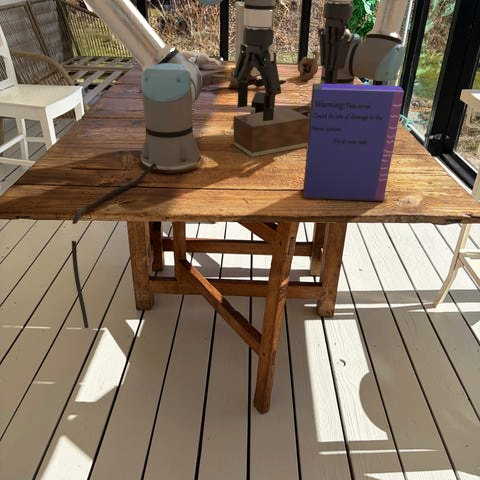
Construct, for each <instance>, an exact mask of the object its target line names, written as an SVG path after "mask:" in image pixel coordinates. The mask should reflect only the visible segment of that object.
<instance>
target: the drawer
mask: <svg viewBox="0 0 480 480" xmlns="http://www.w3.org/2000/svg"><path fill="white" fill-rule="evenodd" d="M310 109H311V108H309V111H308V110H302V111H297V112H298V113H300V114H302V115H305V116H307V117H309V118H310Z"/></svg>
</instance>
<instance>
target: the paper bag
mask: <svg viewBox="0 0 480 480" xmlns="http://www.w3.org/2000/svg"><path fill="white" fill-rule="evenodd" d="M244 4H245V3H244V1H235V59H234V60H235V62H234V63H235V65H234V66H235V67H234V68H236V65H237V61H238V58H239V54H240V46H241V45H243V44H244V43H243V29H244V28H246V26H244ZM271 29H273V27H271ZM268 49H269V53H272V45H271V46H269V48H268ZM265 66H266V65H265ZM251 75H252V76H256V77H257V76H259V75H260V72H259V71H257V68H255V67H253V69H252V71H251ZM260 76H261V75H260Z"/></svg>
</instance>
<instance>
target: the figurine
mask: <svg viewBox="0 0 480 480" xmlns="http://www.w3.org/2000/svg"><path fill="white" fill-rule="evenodd" d="M230 69H231V72H230V73H231V74H230V76H229V75H225V74H213V73H211V74H210V78H209V85H212V84H213V83H214V79H215V78H216V79H223V80H227V81H229V84H228V88H229V89H238V82H237V79H236V78H234V72H235V67H232V66H231V67H230ZM238 73H240V72H238ZM279 81H280V86H281V85H284V84H286V83H287V80H285V79H279ZM245 82H248V87H249V86H255V87H256V88H262V87H264V85H263V81H262V78H261V77H257V76H252V75H251V73H250V75H249V77H248V80H247V81H245Z"/></svg>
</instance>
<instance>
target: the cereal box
mask: <svg viewBox="0 0 480 480" xmlns="http://www.w3.org/2000/svg"><path fill="white" fill-rule="evenodd" d="M404 94H405V91H404V90H403V88H402V87H401V86H399V85H380V84H379V85H377V84H376V85H375V84H354V85H348V84H320V83H312V87H311V99H310V108H309V109H310V120H309V131H308V142H307V146H306V153H305V154H306V155H305V165H304V177H303V188H302V189H303V190H302V191H303V197H304V199H317V200H343V201H344V200H345V201H346V200H347V201H366V202H367V201H368V202H369V201H370V202H384V201H385V195H386V190H387V184H388V178H389V174H390V168H391V164H392V158H393V152H394V147H395V142H396V136H397V132H398V126H399V120H400V115H401V111H402V104H403V100H404V99H403V98H404Z"/></svg>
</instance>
